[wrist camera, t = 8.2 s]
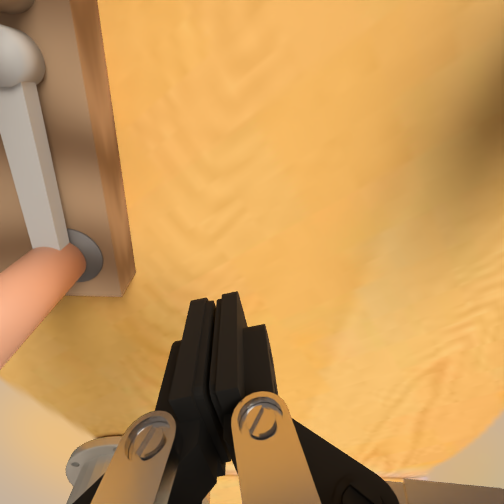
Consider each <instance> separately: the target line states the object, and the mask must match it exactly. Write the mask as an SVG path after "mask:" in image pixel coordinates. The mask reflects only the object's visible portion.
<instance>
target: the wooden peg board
mask: <svg viewBox="0 0 504 504" xmlns="http://www.w3.org/2000/svg"><path fill="white" fill-rule="evenodd" d="M0 24H1V25H5V26H8V27H12V28H15V29H18V30H20V31H22V32H24V33H26V34H27V35H28V36H29V37H31V38H32V39H33V40H34V42H35V43H36V44H37V45H38V47H39V49H40V50H41V52H42V55H43V58H44V61H45V73H44V77H43V79H42V80H41V82H40V83H39V84H37V85H36V87H37V92H38V96H39V101H40V106H41V111H42V115H43V120H44V125H45V129H46V134H47V139H48V144H49V148H50V153H51V158H52V162H53V167H54V172H55V177H56V181H57V186H58V191H59V195H60V200H61V205H62V210H63V214H64V219H65V224H66V228H67V233H68V238H69V243H71V244H73V245H74V246H76V247H77V248H78V249H79V250H80V251H81V252H82V254H83V256H84V258H85V261H86V269H85V271H84V273H83V274H82V276H81V277H80V278H79V279H78V280H77V281H76V282H75V284H74V285H73V286H72V287H71V288H70V289H69V291H68V292H67V293H66V294H65V295H71V296H108V297H122V296H123V294H124V292H125V290H126V289H127V287H128V285H129V284H130V282H131V280H132V278H133V277H134V275H135V273H136V270H135V263H134V256H133V249H132V242H131V235H130V228H129V221H128V214H127V207H126V200H125V193H124V186H123V179H122V172H121V165H120V158H119V151H118V144H117V137H116V130H115V123H114V116H113V109H112V102H111V95H110V88H109V81H108V74H107V68H106V61H105V54H104V47H103V40H102V33H101V26H100V19H99V12H98V5H97V0H0ZM32 249H33V248H32V244H31V241H30V237H29V234H28V230H27V227H26V223H25V219H24V216H23V212H22V209H21V205H20V202H19V198H18V194H17V191H16V187H15V184H14V180H13V177H12V173H11V169H10V166H9V162H8V159H7V155H6V152H5V148H4V144H3V141H2V137H1V134H0V273H1V272H2V271H4V270H5V269H6V268H8V267H9V266H10V265H12V264H13V263H14V262H16V261H17V260H18V259H20V258H21V257H22V256H24V255H25V254H26V253H28V252H29V251H30V250H32Z"/></svg>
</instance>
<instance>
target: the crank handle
mask: <svg viewBox="0 0 504 504" xmlns="http://www.w3.org/2000/svg"><path fill="white" fill-rule="evenodd" d="M44 73H45V61H44V58H43V55H42V52H41V50H40V49H39V47H38V45H37V44H36V43H35V42H34V40H33V39H32V38H31V37H29V36H28V35H27V34H26V33H24V32H22V31H20V30H18V29H15V28H12V27H8V26H5V25H1V24H0V134H1V137H2V141H3V144H4V148H5V152H6V155H7V159H8V162H9V166H10V169H11V173H12V177H13V180H14V184H15V187H16V191H17V194H18V198H19V202H20V205H21V209H22V212H23V216H24V219H25V223H26V227H27V230H28V234H29V237H30V241H31V244H32V248H33V249H32V250H30V251H29V252H28V253H26V254H25V255H24V256H22V257H21V258H20V259H18V260H17V261H16V262H14V263H13V264H12V265H10V266H9V267H8V268H6V269H5V270H4V271H2V272H1V273H0V369H1V368H2V367H3V366H4V365H5V364H6V363H7V361H8V360H9V359H10V358H11V357H12V356H13V354H14V353H15V352H16V351H17V350H18V349H19V347H20V346H21V345H22V344H23V343H24V342H25V340H26V339H27V338H28V337H29V336H30V335H31V334H32V332H33V331H34V330H35V329H36V328H37V327H38V325H39V324H40V323H41V322H42V321H43V320H44V318H45V317H46V316H47V315H48V314H49V313H50V311H51V310H52V309H53V308H54V307H55V306H56V305H57V303H58V302H59V301H60V300H61V299H62V298H63V296H64V295H65V294H66V293H67V292H68V291H69V289H70V288H71V287H72V286H73V285H74V284H75V282H76V281H77V280H78V279H79V278H80V277H81V276H82V274H83V273H84V271H85V269H86V261H85V258H84V256H83V254H82V252H81V251H80V250H79V249H78V248H77V247H76V246H74V245H73V244H71V243H69V238H68V233H67V228H66V224H65V219H64V214H63V210H62V205H61V200H60V195H59V191H58V186H57V181H56V177H55V172H54V167H53V162H52V158H51V153H50V148H49V144H48V139H47V134H46V129H45V125H44V120H43V115H42V111H41V106H40V101H39V96H38V92H37V87H36V85H37V84H39V83H40V82H41V80H42V79H43V77H44Z"/></svg>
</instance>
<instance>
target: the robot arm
mask: <svg viewBox="0 0 504 504" xmlns="http://www.w3.org/2000/svg"><path fill="white" fill-rule="evenodd" d="M231 459H232V461H233V464H234V466H235V469H236V471H237V474H238V476H239V483H240V490H241V497H242V504H504V489H502V488H493V487H484V486H474V485H462V484H454V483H443V482H433V481H423V480H413V479H404V481H403V483H401V482H391V481H384V480H383V479H382V478H381V477H379V476H378V475H377V474H375V473H374V472H372V471H371V470H369V469H368V468H366V467H365V466H363V465H362V464H360V463H359V462H357V461H356V460H354V459H353V458H351V457H350V456H348V455H347V454H345V453H344V452H342V451H341V450H339V449H338V448H336V447H335V446H333V445H332V444H330V443H329V442H327V441H326V440H324V439H323V438H321V437H320V436H318V435H317V434H315V433H314V432H312V431H310V430H309V429H307V428H306V427H304V426H303V425H301V424H300V423H298V422H297V421H295V420H294V419H292V418H291V415H290V412H289V409H288V407H287V405H286V403H285V402H284V400H283V399H282V398H280V397H279V396H278V391H277V384H276V377H275V371H274V364H273V358H272V353H271V348H270V343H269V338H268V334H267V330H266V326H265V324H262V325H257V326H252V327H247V323H246V319H245V316H244V312H243V308H242V305H241V301H240V297H239V294H238V292H232V293H227V294H222V299H218V300H217V304H216V306H215V303H214V301H208V299H207V298H202V299H197V300H192V301H191V302H190V306H189V311H188V315H187V319H186V324H185V328H184V333H183V337H182V340H180V341H175V342H174V343H173V345H172V347H171V351H170V355H169V359H168V363H167V366H166V370H165V374H164V378H163V382H162V385H161V389H160V393H159V397H158V401H157V405H156V408H155V411H153V412H149V413H147V414H145V415H143V416H141V417H140V418H138V419H137V420H136V421H134V422H133V423H132V424H131V425H130V427H129V428H128V429H127V430H126V432H125V433H124V435H123V436H110V437H103V438H98V439H94V440H92V441H89V442H87V443H84V444H83V445H81V446H79V447H78V448H77V449H76V450H75V451H74V452H73V453H72V455H71V457H70V459H69V461H68V463H67V466H66V476H67V478H68V480H69V482H70V483H71V484H72V485H73V486H74V487H73V489H72V492H71V494H70V496H69V499H68V501H67V504H210V490H211V489H212V488H213V487H214V485H215V484H216V483H217V477H218V476H224V475H225V465H226V462H230V461H231Z"/></svg>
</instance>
